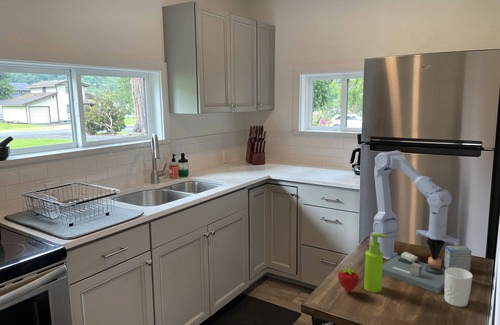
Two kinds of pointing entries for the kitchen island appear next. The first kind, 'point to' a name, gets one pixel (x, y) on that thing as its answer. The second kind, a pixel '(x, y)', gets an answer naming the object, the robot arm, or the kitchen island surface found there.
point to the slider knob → (416, 269)
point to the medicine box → (457, 257)
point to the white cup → (457, 286)
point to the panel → (401, 270)
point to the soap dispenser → (374, 265)
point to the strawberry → (348, 279)
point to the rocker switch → (409, 257)
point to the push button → (434, 262)
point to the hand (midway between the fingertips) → (435, 258)
